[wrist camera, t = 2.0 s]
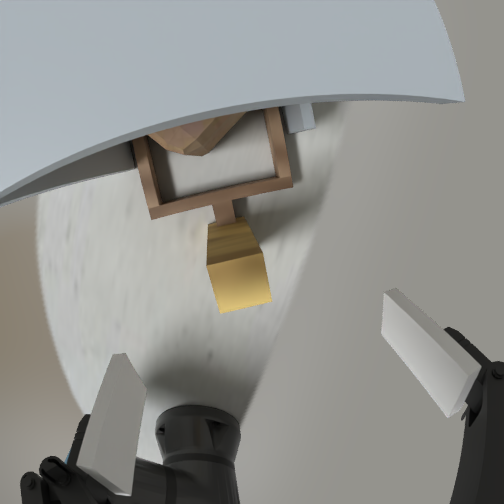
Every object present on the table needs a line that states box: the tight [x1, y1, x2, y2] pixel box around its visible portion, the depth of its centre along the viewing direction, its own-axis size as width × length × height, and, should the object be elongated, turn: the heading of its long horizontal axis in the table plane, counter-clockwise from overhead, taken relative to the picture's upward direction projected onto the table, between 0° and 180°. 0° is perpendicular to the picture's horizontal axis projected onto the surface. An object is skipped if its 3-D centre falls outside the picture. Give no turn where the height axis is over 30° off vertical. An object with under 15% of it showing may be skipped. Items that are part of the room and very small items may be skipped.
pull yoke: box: [132, 107, 293, 314], centre depth 22 cm, size 26×15×12 cm, turn 12°
